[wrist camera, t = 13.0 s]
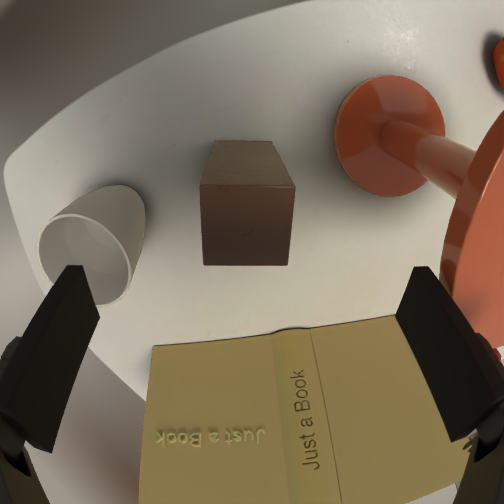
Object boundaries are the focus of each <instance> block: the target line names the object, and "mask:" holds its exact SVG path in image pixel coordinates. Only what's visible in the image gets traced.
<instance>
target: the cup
mask: <svg viewBox="0 0 504 504" xmlns="http://www.w3.org/2000/svg"><path fill="white" fill-rule="evenodd" d="M145 227H146V218H145V207H144V203H143V200H142V199H141V197H140V196H139V194H138V193H137V192H136V191H135V190H133V189H132V188H130V187H127V186H124V185H114V186H107V187H102V188H99V189H97V190H95V191H92V192H90V193H88V194H86V195H84V196H82V197H80V198H78V199H76V200H75V201H74V202H72V203H71V204H70V205H68V206H67V207H66V208H64V209H63V210H62V211H61V212H59V213H58V214H57V215H55V216H54V217H53V218H52V219H50V220H49V221H48V222H47V223H46V224H45V225H44V226H43V228H42V229H41V231H40V234H39V236H38V241H37V255H38V260H39V263H40V266H41V268H42V270H43V272H44V274H45V276H46V277H47V279H48V280H49V282H50V283H51V284H52V285H54V283H55V282H56V280H57V279H58V277H59V276H60V274H61V273H62V271H63V270H64V268H65V267H66V266H67V265H83V268H84V271H85V274H86V277H87V281H88V284H89V287H90V290H91V293H92V296H93V299H94V302H95V305H96V307H103V306H108V305H111V304H114V303H116V302H117V301H119V300H120V299H121V298H122V297H123V296H124V295H125V294H126V292H127V290H128V288H129V286H130V283H131V280H132V277H133V274H134V271H135V268H136V265H137V262H138V259H139V256H140V253H141V249H142V244H143V238H144V233H145Z"/></svg>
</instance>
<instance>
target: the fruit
mask: <svg viewBox="0 0 504 504" xmlns="http://www.w3.org/2000/svg"><path fill="white" fill-rule="evenodd" d="M493 59H494V64H495V70H496V74H497V77H498V80H499V82H500V85H501V86H502V88H503V90H504V38H503V39H502V40H501V41H500V42H499V43H498V44H497V45H496V46H495V48H494V50H493Z"/></svg>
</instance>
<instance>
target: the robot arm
mask: <svg viewBox="0 0 504 504" xmlns="http://www.w3.org/2000/svg"><path fill="white" fill-rule="evenodd" d="M395 318H396V320H397V322H398V324H399V326H400V328H401V330H402V332H403V334H404V336H405V338H406V340H407V342H408V344H409V346H410V348H411V350H412V352H413V354H414V356H415V358H416V361H417V363H418V365H419V367H420V369H421V371H422V374H423V376H424V378H425V380H426V383H427V385H428V387H429V389H430V392H431V394H432V396H433V399H434V401H435V403H436V406H437V408H438V411H439V413H440V415H441V418H442V420H443V423H444V426H445V428H446V431H447V433H448V436H449V439H450V441H451V443H452V442H455V441H457V440H460V439H462V438H465V437H467V436H468V435H469V434H470V433H471V432H472V431H474V430H475V429H476V430H477V432H478V434H477V435H475V436H474V437H473V438H472V439H471V440H470V441H468V442H467V443H466V444H465V445H464V447H463V449H462V450H465V449H467V448H468V447H469V446H470V445H472V447H471V448H470V449H469V450H468V452H470V454H469V458H468V461H467V464H466V468H465V471H464V474H463V477H462V480H461V483H460V486H459V488H458V491H457V494H456V497H455V499H454V502H453V504H504V366H503V365H502V363H501V362H500V361H499V358H498V356H497V354H496V353H494V350H493V348H492V346H491V345H490V343H489V342H488V340H486V339H485V338H484V337H483V336H482V335H481V334H480V333H479V332H478V333H475V331H474V330H473V328H472V326H471V325H470V323H469V322H468V320H467V319H466V317H465V316H464V315H463V313H462V312H461V310H460V309H459V307H458V306H457V304H456V303H455V302H454V300H453V299H452V297H451V296H450V295H449V293H448V292H447V290H446V289H445V288H444V286H443V285H442V284H441V282H440V281H439V280H438V278H437V277H436V276H435V274H434V273H433V272H432V271H431V269H430V268H429V267H428V266H420V267H414V268H413V271H412V274H411V276H410V279H409V282H408V284H407V287H406V290H405V292H404V295H403V297H402V300H401V302H400V305H399V307H398V310H397V312H396V315H395ZM99 319H100V316H99V313H98V310H97V307H96V305H95V302H94V299H93V296H92V293H91V290H90V287H89V284H88V281H87V277H86V274H85V271H84V268H83V265H67V266H66V267H65V268H64V270H63V271H62V273H61V274H60V276H59V277H58V279H57V280H56V282H55V283H54V285H53V286H52V288H51V289H50V291H49V292H48V294H47V296H46V297H45V299H44V300H43V302H42V304H41V305H40V307H39V308H38V310H37V312H36V313H35V315H34V317H33V318H32V320H31V322H30V323H29V325H28V327H27V329H26V330H25V332H24V334H23V336H22V337H17V336H16V337H15V338H14V339H13V340H12V342H10V343H9V344H8V345H7V347H6V349H5V351H4V352H3V354H2V356H1V360H0V504H50V503H49V501H48V499H47V497H46V494H45V492H44V490H43V488H42V486H41V484H40V481H39V479H38V477H37V474H36V472H35V470H34V467H33V464H32V462H31V459H30V457H29V454H28V451H27V450H26V448H25V447H24V443H25V440H26V441H27V442H28V443H29V444H31V445H32V446H33V447H34V448H37V449H40V450H43V451H46V452H49V453H52V451H53V447H54V444H55V440H56V437H57V433H58V430H59V427H60V423H61V420H62V417H63V414H64V410H65V408H66V405H67V402H68V399H69V396H70V393H71V390H72V387H73V384H74V382H75V379H76V376H77V373H78V371H79V368H80V365H81V363H82V360H83V358H84V355H85V352H86V350H87V347H88V345H89V342H90V340H91V338H92V335H93V333H94V330H95V328H96V326H97V323H98V321H99Z"/></svg>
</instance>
